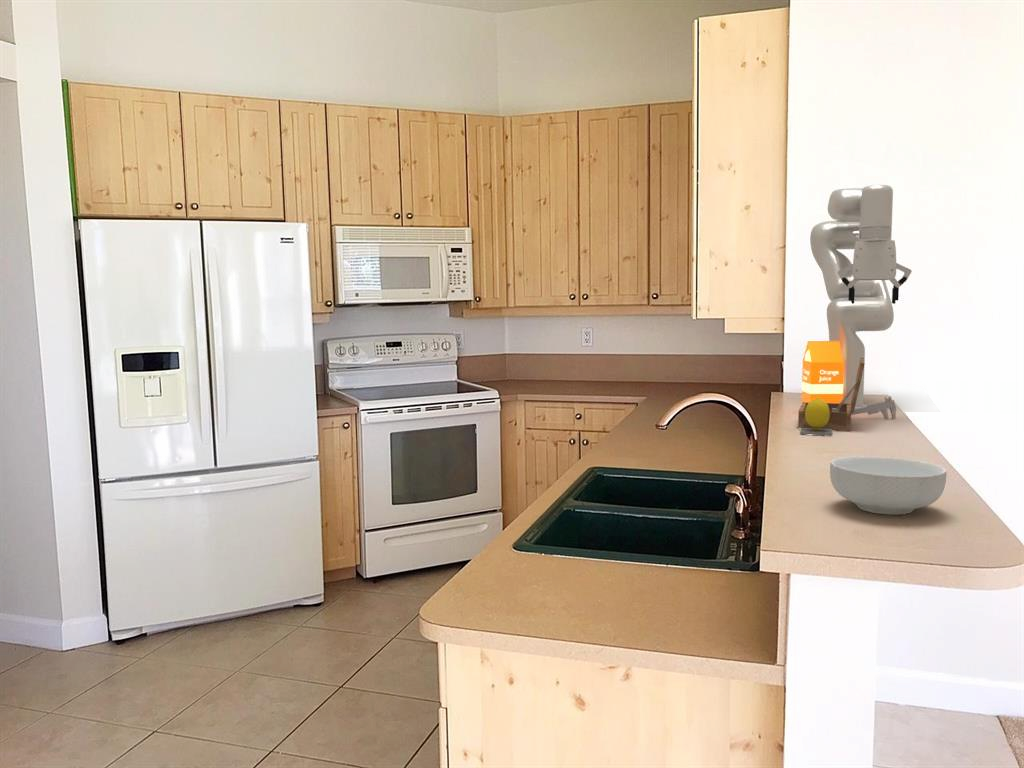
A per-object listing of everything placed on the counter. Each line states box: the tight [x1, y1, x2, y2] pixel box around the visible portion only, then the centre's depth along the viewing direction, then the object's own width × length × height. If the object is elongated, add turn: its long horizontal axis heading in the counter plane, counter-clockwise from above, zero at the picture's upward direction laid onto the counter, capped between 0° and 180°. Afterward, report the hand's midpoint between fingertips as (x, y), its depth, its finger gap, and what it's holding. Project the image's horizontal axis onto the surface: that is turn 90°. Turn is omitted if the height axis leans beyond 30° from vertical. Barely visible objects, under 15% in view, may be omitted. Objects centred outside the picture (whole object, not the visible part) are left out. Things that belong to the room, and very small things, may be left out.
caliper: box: [851, 396, 897, 420], centre depth 232 cm, size 20×1×6 cm, turn 88°
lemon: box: [805, 397, 830, 430], centre depth 210 cm, size 6×6×8 cm
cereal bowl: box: [829, 455, 947, 516], centre depth 138 cm, size 17×17×7 cm
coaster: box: [799, 428, 833, 437], centre depth 211 cm, size 7×7×1 cm
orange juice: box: [801, 340, 844, 403], centre depth 242 cm, size 8×9×20 cm
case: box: [797, 358, 866, 432], centre depth 222 cm, size 18×15×17 cm
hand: (873, 303), depth 224 cm, fingers open, 9 cm apart
